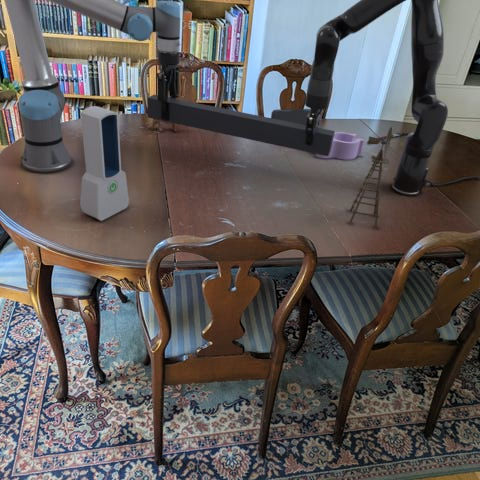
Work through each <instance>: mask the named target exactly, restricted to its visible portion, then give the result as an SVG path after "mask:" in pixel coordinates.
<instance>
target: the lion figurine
mask: <svg viewBox="0 0 480 480" xmlns="http://www.w3.org/2000/svg"><path fill="white" fill-rule="evenodd" d="M162 123H163V124H165V125H171V129H172V130H173V132H175V133H176V132H178V130H177V124H175V123H171V122H166V121H162V120H157V119H153V120H152V123H151V125H150V127H149V130H152V129H154V130H155V129H158V131H159V132H163V131H164V130H163V129H162V128H161V125H162ZM156 125H157V127H156Z"/></svg>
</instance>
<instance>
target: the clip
mask: <svg viewBox="0 0 480 480" xmlns="http://www.w3.org/2000/svg"><path fill="white" fill-rule="evenodd" d="M365 141H366V140H365V139H363V138H357V133H356V132H355V133H354V132H353V133H350V132H344V131H335V133H334V138H333V143H332V147H331V152H330V154H329V156H324V155H319V154H315V157H316V158H318V159H339V160H344V161H345V160H346V161H347V160H354V159H356V157H358V158H359V157H361V156H362V152H363V148H364V145H365Z"/></svg>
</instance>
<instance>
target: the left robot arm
mask: <svg viewBox="0 0 480 480" xmlns="http://www.w3.org/2000/svg"><path fill="white" fill-rule="evenodd" d="M47 1H48V2H51V3H53V4H56V5H58V6H60V7H63V8H65V9H67V10H70V11H72V12H75V13H77V14H79V15H81V16H84V17H86V18H89V19H91V20H93V21H96V22H98V23H101V24H102V25H105V26H108V27H110V28H113V29H115V30H117V31H119V32H122V33H123V34H126V35H128V36H130V38H132V39H133V40H135V41H137V42H145V41H147V40H149V39H150V38H151V37H152V34H153V33H157V50H158V51H157V62H158V64H160V65H161V66H160V67H161V68H160V72H157V73H156V78H157V95H158V101H160V102H161V119H164V120H169V102H168V97H169V98H174V99H179V97H180V95H179V94H180V70H181V68H180V66H177V65H179V64H180V59H181V58H180V56H181V55H180V52H179V51H180V49H181V45H182V44H181V40H180V38H181V5H180V4H179V3H178V2H177V1H172V0H158V1H157V3H156V6H152V7H151V6H139V5H132V4H129V5H126V4H124V3H122V2H120V1H117V0H47ZM4 5H5V8H6V12H7V15H8V19H9V23H10V26H11V31H12V33H13V37H14V42H15V45H16V48H17V52H18V56H19V59H20V64H21V67H22V70H23V74H24V78H23V79H24V80H23V81H22V83H21V85H22V89H23V93H22V94H20V96H19V98H18V109H19V110H18V111H19V113H20V119H21V125H22V132H23V137H24V148H23V153H22V156H21V157H20V158H21V159H22V160H21V161H22V166H23V168H24V169H25V170H27V171H29V172H33V173H39V174H46V173H56V172H61V171H63V170H66V169H67V168H69V167H70V166H71V163H72V159H71V155H70V153H69V151H68V150H67V149H68V148H67V147H66V145H65V143H64V140H63V132H62V123H61V119H62V115H63V112H64V110H65V107H66V98H65V95H64V92H63V91H62V89H61V87H60V82H59V79H58V78H57V77H56V76H54V75H53V73H52V68H51V65H50V59H49V56H48V55H49V54H48V51H47V47H46V43H45V39H44V35H43V29H42V26H41V22H40V18H39V14H38V9H37V5H36V2H35V0H4Z"/></svg>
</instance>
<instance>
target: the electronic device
mask: <svg viewBox="0 0 480 480" xmlns="http://www.w3.org/2000/svg"><path fill="white" fill-rule="evenodd" d="M119 119H120V118H119V113H118V112H117V111H116V112H115V111H113V110H110V109H107V108H104V107H101V106H96V105H94V106H93V105H91V106H88V107H86V108H84V109H83V110H82V111H81V112H80V120H81V131H82V132H81V133H82V142H83V152H84V153H83V155H84V163H85V172H84V174H83V176H82V177H81V186H80V187H81V188H80V200H79V201H80V203H79V206H80V208H81V211H82V212H83V213H84V214H85V215H88V216H89V217H92V218H94V219H96V220H99V221H101V222H102V221H104V220H106V219H108V218H110V217H112V216H114V215H116V214H117V213H120V212H121V211H124V210H125V209H127V208H128V206H129V204H130V198H129V189H128V181H127V175H126V172H125V171H124V170H122V159H121V158H122V157H121V139H120V137H121V136H120V120H119Z"/></svg>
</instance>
